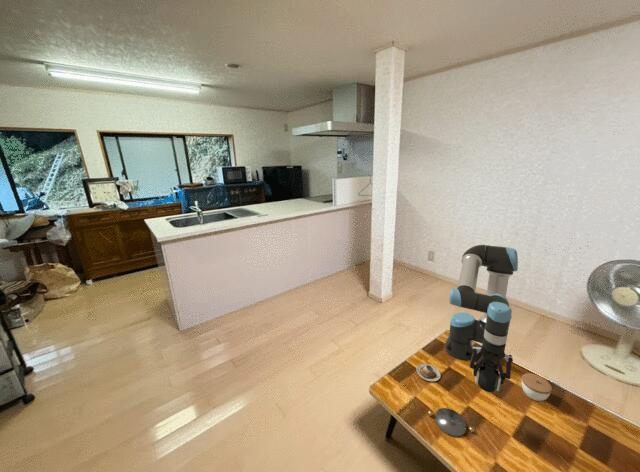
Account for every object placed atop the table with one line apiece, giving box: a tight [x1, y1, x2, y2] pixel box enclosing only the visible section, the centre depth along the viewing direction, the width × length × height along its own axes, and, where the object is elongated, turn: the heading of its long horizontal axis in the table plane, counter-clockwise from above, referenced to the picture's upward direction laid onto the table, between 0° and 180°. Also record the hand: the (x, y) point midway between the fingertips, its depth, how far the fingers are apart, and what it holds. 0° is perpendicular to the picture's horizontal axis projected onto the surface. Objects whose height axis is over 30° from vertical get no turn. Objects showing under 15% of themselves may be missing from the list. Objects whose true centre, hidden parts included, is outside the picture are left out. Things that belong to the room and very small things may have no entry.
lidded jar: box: [521, 372, 553, 402], centre depth 121 cm, size 11×11×9 cm
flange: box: [427, 407, 475, 438], centre depth 111 cm, size 12×18×2 cm, turn 61°
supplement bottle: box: [477, 359, 500, 393], centre depth 108 cm, size 7×7×12 cm
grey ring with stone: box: [415, 363, 441, 383], centre depth 137 cm, size 12×12×5 cm
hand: (486, 385), depth 110 cm, fingers closed on supplement bottle, 7 cm apart
